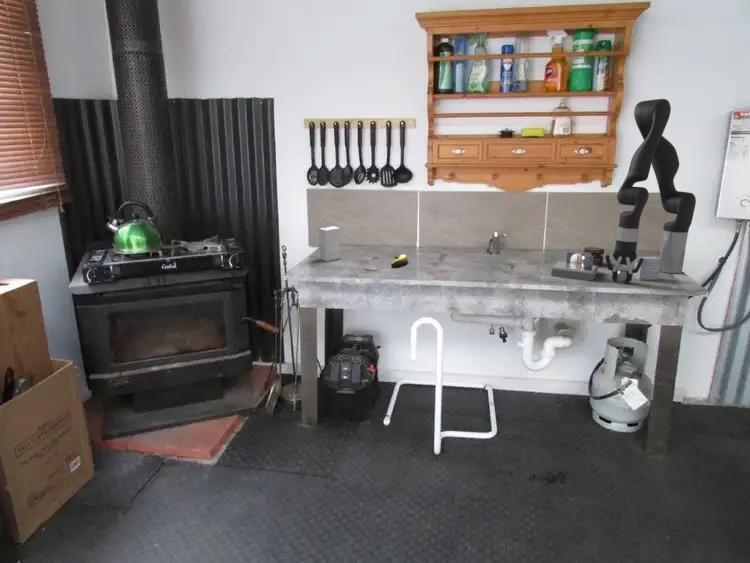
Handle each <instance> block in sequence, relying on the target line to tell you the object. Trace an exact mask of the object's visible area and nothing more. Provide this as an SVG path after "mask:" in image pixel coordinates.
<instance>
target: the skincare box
mask: <svg viewBox="0 0 750 563" xmlns="http://www.w3.org/2000/svg"><path fill="white" fill-rule="evenodd" d="M318 236H319V240H318V241H319V254H320V255H319V257H320V258H319V259H320V260H322V261H324V262H331V261H335V260H341V258H342V257H341V256H342V254H341V252H342V251H341V250H342V249H341V228H340V227H337V226H335V225H332V226H327V227H320V228H318Z"/></svg>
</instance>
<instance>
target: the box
mask: <svg viewBox="0 0 750 563" xmlns="http://www.w3.org/2000/svg"><path fill="white" fill-rule="evenodd" d="M583 250H584V251H583V253H591V255H592V256H593V264H592V265H595V266H598V267H599V266H603V263H604V254H605V248H601V247H597V246H585V247H584V248H583Z"/></svg>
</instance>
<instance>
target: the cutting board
mask: <svg viewBox="0 0 750 563" xmlns="http://www.w3.org/2000/svg"><path fill="white" fill-rule="evenodd" d="M394 258H395V259H394V260H393V261H392V262H391V264H390V265H391V266H390V267H391V268H392V267H393V268H400V267H402V266H404V265H405V264H406V263H407V262H408V259H409V258H408V256H407V255H406V254H400V255H399V256H394ZM423 259H424V260H425V261H426V262H427V259H426V258H425V257H423ZM363 270H365V271H368V272H369V271H371V272H372V271H373V272H377V271H381V269H380V268H379V269H372V267H371V268H367V267H364V268H363ZM391 272H394V270H393V271H391Z"/></svg>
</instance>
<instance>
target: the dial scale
mask: <svg viewBox="0 0 750 563" xmlns="http://www.w3.org/2000/svg"><path fill="white" fill-rule="evenodd" d="M582 255H591V253H584V252H581V251H574V250H573V251H571V250H568V251H567V253H566V261H561V260H560V261H558V262H557V263H556V264H554V266H553V267H552V268H551V272H550V273H551V275H550V276H551V277H557V278H565V279H566V278H567V279H573V280H581V279H582V281H587V280H591V281H590V282H593V281H594V280H595V278H596V277H597V275H598V272H599V266H595V265H592V269H588V270H587V269H581V268H580V267H581V256H582ZM593 279H594V280H593Z"/></svg>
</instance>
